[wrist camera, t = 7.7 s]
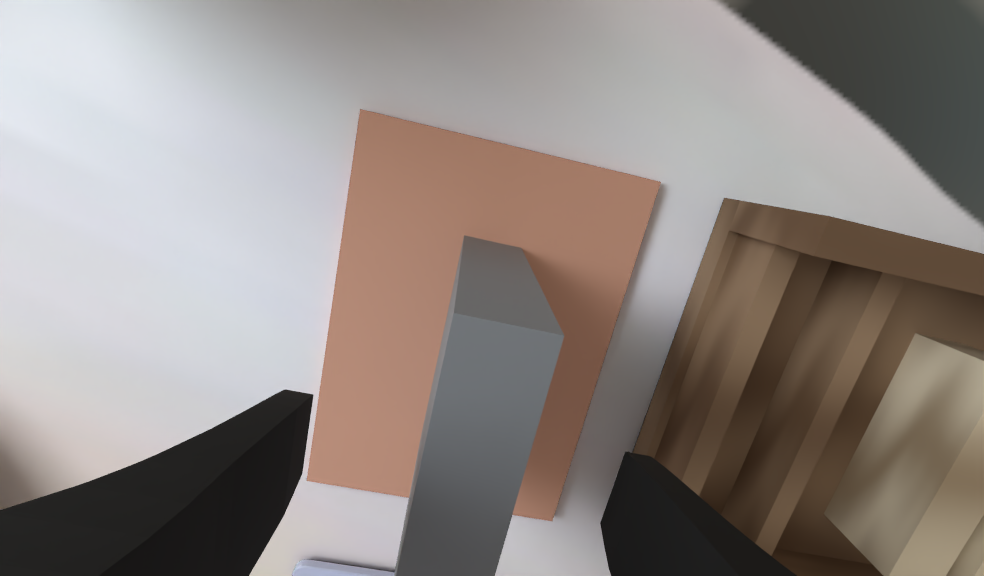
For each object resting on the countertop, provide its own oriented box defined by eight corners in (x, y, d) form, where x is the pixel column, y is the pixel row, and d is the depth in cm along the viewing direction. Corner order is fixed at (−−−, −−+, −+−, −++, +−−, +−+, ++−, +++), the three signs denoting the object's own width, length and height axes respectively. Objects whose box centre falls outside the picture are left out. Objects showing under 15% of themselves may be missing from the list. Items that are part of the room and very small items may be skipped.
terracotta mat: (550, 514, 20) (552, 521, 19) (310, 474, 19) (306, 480, 18) (656, 181, 16) (661, 181, 15) (363, 110, 15) (360, 109, 15)
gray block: (471, 445, 18) (469, 663, 10) (420, 437, 18) (379, 651, 10) (521, 248, 16) (564, 335, 8) (464, 235, 16) (453, 312, 8)
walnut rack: (900, 572, 21) (1025, 695, 16) (607, 523, 20) (649, 642, 15) (1070, 281, 17) (1297, 330, 13) (724, 197, 16) (830, 216, 11)
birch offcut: (867, 521, 19) (938, 587, 16) (823, 513, 19) (886, 579, 16) (964, 343, 17) (1065, 383, 14) (915, 333, 17) (1007, 370, 14)
